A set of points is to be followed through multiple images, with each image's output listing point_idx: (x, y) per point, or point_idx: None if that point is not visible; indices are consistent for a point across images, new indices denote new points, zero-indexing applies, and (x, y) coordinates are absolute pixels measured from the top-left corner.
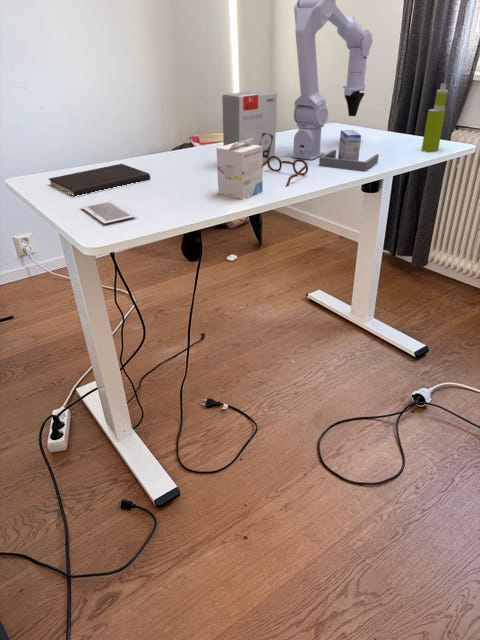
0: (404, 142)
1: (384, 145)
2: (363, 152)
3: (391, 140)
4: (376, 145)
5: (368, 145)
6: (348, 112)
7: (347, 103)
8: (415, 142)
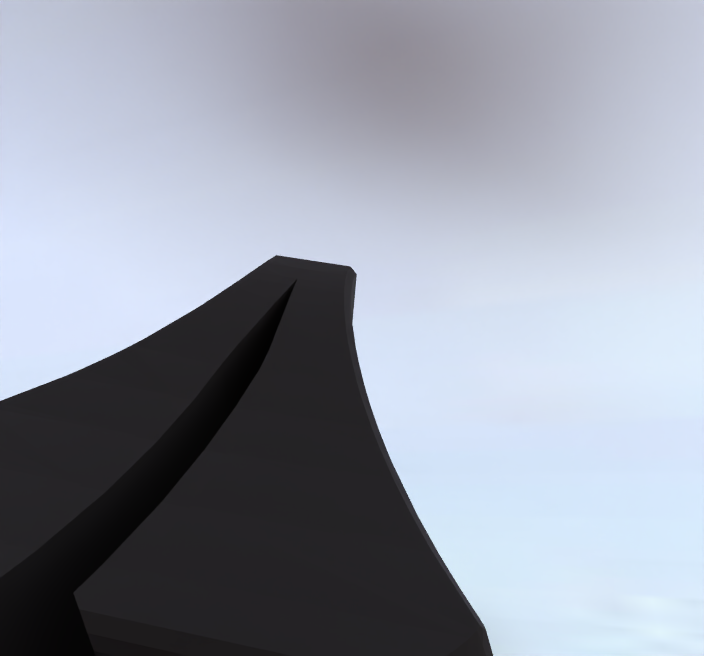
0: (609, 542)
1: (446, 431)
2: (116, 316)
3: (687, 470)
4: (424, 379)
5: (400, 320)
6: (245, 276)
7: (69, 383)
8: (622, 594)
